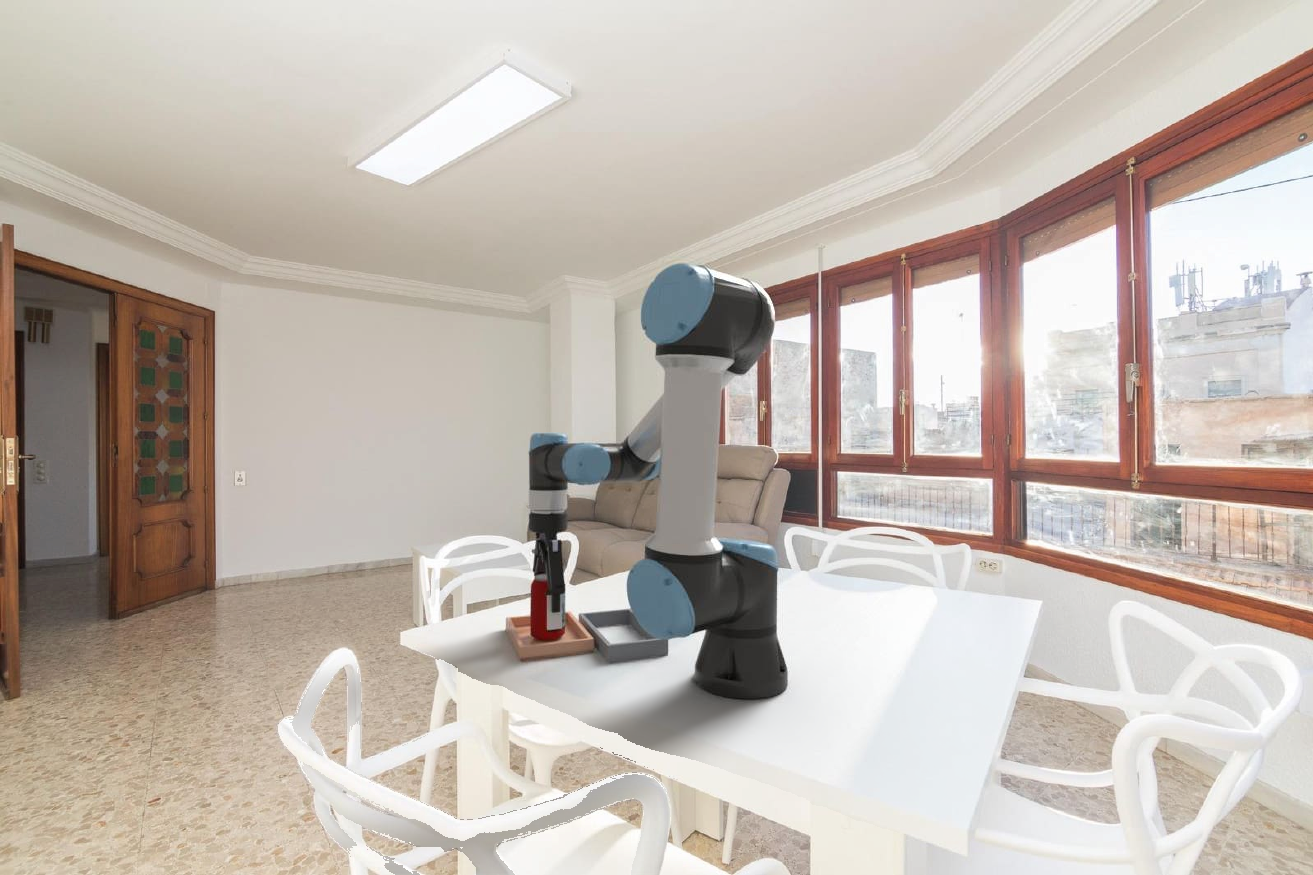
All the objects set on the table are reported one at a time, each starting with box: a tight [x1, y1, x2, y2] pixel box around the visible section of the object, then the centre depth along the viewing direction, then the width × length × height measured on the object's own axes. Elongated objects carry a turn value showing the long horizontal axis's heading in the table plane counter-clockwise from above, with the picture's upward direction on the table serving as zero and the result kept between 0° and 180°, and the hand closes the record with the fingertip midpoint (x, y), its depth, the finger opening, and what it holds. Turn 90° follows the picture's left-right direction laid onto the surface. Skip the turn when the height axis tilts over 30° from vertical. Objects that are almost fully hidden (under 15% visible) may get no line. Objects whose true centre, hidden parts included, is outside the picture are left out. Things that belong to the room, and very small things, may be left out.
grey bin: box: [578, 607, 669, 664], centre depth 119 cm, size 22×12×3 cm, turn 21°
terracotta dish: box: [505, 611, 595, 662], centre depth 119 cm, size 20×14×2 cm
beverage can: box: [529, 574, 566, 641], centre depth 119 cm, size 7×7×12 cm
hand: (547, 619), depth 119 cm, fingers open, 13 cm apart
